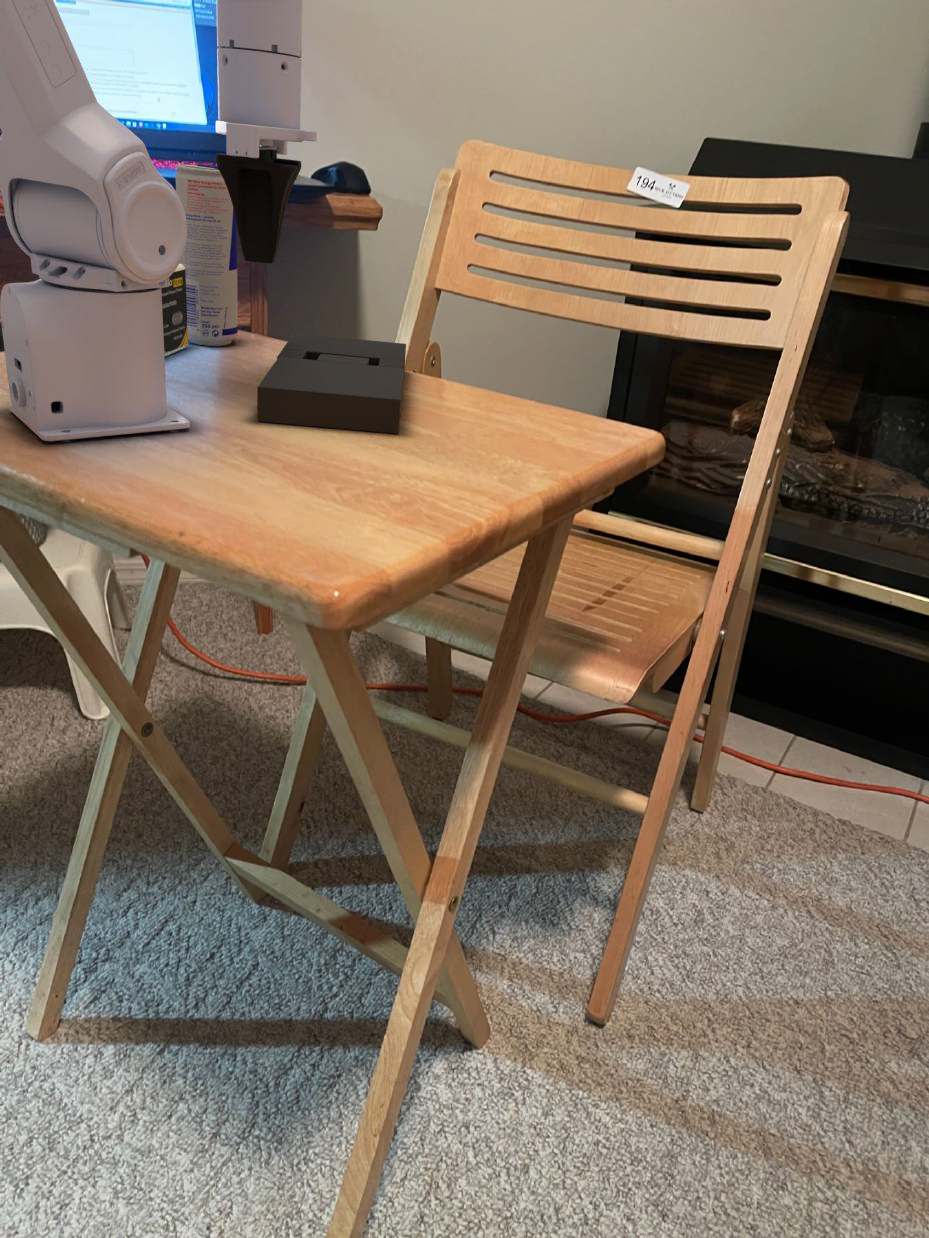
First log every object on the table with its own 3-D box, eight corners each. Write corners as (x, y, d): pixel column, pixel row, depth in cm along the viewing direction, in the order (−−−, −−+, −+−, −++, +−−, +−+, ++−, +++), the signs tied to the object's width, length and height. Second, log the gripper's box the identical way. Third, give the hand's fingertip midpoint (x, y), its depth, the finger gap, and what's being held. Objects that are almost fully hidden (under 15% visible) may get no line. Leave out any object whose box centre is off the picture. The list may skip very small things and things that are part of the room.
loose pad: (398, 434, 67) (400, 399, 66) (257, 421, 66) (257, 386, 65) (403, 392, 78) (405, 361, 77) (283, 380, 77) (283, 350, 76)
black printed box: (153, 363, 78) (145, 207, 73) (73, 352, 79) (59, 197, 74) (189, 347, 85) (184, 203, 79) (115, 337, 85) (105, 194, 80)
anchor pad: (401, 399, 76) (403, 368, 75) (276, 388, 75) (276, 356, 74) (404, 371, 85) (406, 343, 84) (293, 361, 84) (293, 333, 83)
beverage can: (245, 339, 90) (243, 167, 83) (227, 349, 86) (224, 168, 79) (193, 333, 90) (187, 161, 83) (173, 343, 86) (165, 162, 79)
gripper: (305, 52, 59) (301, 279, 65) (327, 67, 72) (322, 256, 78) (191, 39, 58) (197, 269, 64) (234, 57, 71) (236, 247, 77)
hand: (259, 261), depth 71 cm, fingers closed
